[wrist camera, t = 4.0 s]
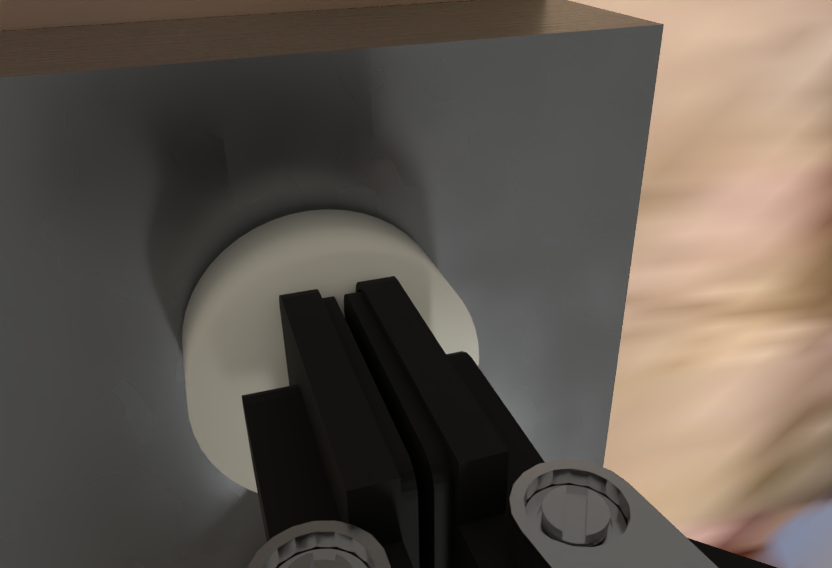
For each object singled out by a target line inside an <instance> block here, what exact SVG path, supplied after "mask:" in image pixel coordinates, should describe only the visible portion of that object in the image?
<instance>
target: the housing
mask: <svg viewBox="0 0 832 568" xmlns="http://www.w3.org/2000/svg"><path fill="white" fill-rule="evenodd" d="M663 25H664V24H660V23H656V22H652V21H648V20H644V19H640V18H636V17H632V16H628V15H624V14H620V13H616V12H612V11H608V10H604V9H600V8H596V7H592V6H588V5H584V4H580V3H576V2H572V1H568V0H473V1H457V2H442V3H426V4H411V5H396V6H380V7H365V8H349V9H334V10H318V11H303V12H288V13H272V14H257V15H241V16H226V17H210V18H195V19H180V20H164V21H149V22H133V23H118V24H102V25H87V26H72V27H56V28H41V29H25V30H10V31H0V568H247V567H248V566H249V564H250V562H251V561H252V559H253V557H254V556H255V554H256V553H257V551H258V550H259V549H260V548H261V547H263V546H264V545H265V544H266V543H267V540H266V535H265V529H264V524H263V519H262V513H261V508H260V503H259V497H258V493H256V492H254V491H251V490H249V489H247V488H245V487H243V486H241V485H239V484H237V483H235V482H234V481H232V480H231V479H230V478H228V477H227V476H226V475H224V474H223V473H222V472H221V471H219V470H218V469H217V468H216V467H215V466H214V465H213V464H212V463H211V462H210V460H209V459H208V458H207V456H206V455H205V453H204V452H203V451H202V449H201V448H200V446H199V444H198V442H197V440H196V438H195V436H194V433H193V430H192V427H191V423H190V420H189V414H188V406H187V396H186V384H185V372H184V360H183V349H182V330H183V322H184V317H185V312H186V309H187V306H188V303H189V300H190V297H191V295H192V293H193V291H194V289H195V287H196V285H197V283H198V281H199V280H200V278H201V277H202V275H203V274H204V273H205V271H206V270H207V268H208V267H209V266H210V264H211V263H212V262H213V261H214V260H215V259H216V258H217V257H218V256H219V255H220V254H221V253H222V252H223V251H224V250H225V249H226V248H227V247H229V246H230V245H231V244H232V243H233V242H235V241H236V240H237V239H238V238H240V237H242V236H243V235H245V234H246V233H248V232H250V231H251V230H253V229H254V228H257V227H259V226H261V225H263V224H265V223H267V222H269V221H271V220H274V219H277V218H280V217H283V216H287V215H290V214H294V213H299V212H304V211H310V210H323V209H333V210H348V211H353V212H359V213H364V214H367V215H370V216H373V217H376V218H379V219H381V220H383V221H385V222H387V223H389V224H392V225H394V226H395V227H397V228H398V229H400V230H401V231H403V232H404V233H406V234H407V235H408V236H409V237H410V238H411V239H412V240H414V241H415V242H416V243H417V244H418V245H419V246H420V248H421V249H422V250H423V251H424V253H425V254H426V255H427V256H428V258H429V259H430V260H431V261H432V263H433V264H434V265H435V267H436V268H437V269H438V270H439V272H440V273H441V274H442V275H443V277H444V278H445V279H446V281H447V282H448V283H449V284H450V286H451V287H452V288H453V290H454V291H455V292H456V293H457V295H458V296H459V297H460V298H461V300H462V301H463V303H464V305H465V306H466V308H467V310H468V312H469V313H470V315H471V318H472V321H473V323H474V326H475V329H476V334H477V339H478V345H479V365H478V367H479V369H480V370H481V371H482V373H483V374H484V376H485V377H486V379H487V380H488V381H489V383H490V384H491V386H492V387H493V389H494V390H495V391H496V393H497V394H498V396H499V397H500V399H501V400H502V401H503V403H504V404H505V406H506V407H507V409H508V410H509V411H510V413H511V414H512V416H513V417H514V419H515V420H516V422H517V423H518V424H519V426H520V427H521V429H522V430H523V432H524V433H525V434H526V436H527V437H528V439H529V440H530V442H531V443H532V444H533V446H534V447H535V449H536V450H537V452H538V453H539V454H540V456H541V457H542V459H543V460H544V462H549V461H553V460H579V461H584V462H589V463H594V464H596V465H599V466H601V467H603V463H604V456H605V448H606V441H607V434H608V427H609V419H610V412H611V405H612V397H613V390H614V383H615V375H616V368H617V361H618V354H619V346H620V339H621V332H622V324H623V317H624V310H625V302H626V295H627V288H628V281H629V273H630V266H631V259H632V251H633V244H634V237H635V229H636V222H637V215H638V207H639V200H640V193H641V186H642V178H643V171H644V164H645V156H646V149H647V142H648V134H649V127H650V120H651V113H652V105H653V98H654V91H655V83H656V76H657V69H658V61H659V54H660V47H661V40H662V32H663Z"/></svg>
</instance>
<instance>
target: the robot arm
mask: <svg viewBox="0 0 832 568" xmlns="http://www.w3.org/2000/svg"><path fill="white" fill-rule="evenodd" d="M279 306H280V314H281V322H282V330H283V338H284V346H285V354H286V362H287V371H288V379H289V386H287V387H282V388H277V389H272V390H267V391H262V392H257V393H252V394H247V395H242V403H243V410H244V416H245V422H246V428H247V434H248V440H249V446H250V452H251V458H252V464H253V470H254V475H255V481H256V486H257V492H258V497H259V503H260V508H261V513H262V519H263V524H264V529H265V535H266V540H267V543H266V544H265V545H264V546H263V547H261V548H260V549H259V550H258V551H257V553H256V554H255V556H254V557H253V559H252V561H251V562H250V564H249V566H248V567H247V568H776V567H773V566H770V565H767V564H764V563H761V562H758V561H755V560H752V559H749V558H746V557H743V556H740V555H737V554H734V553H731V552H728V551H725V550H722V549H719V548H716V547H713V546H710V545H707V544H704V543H701V542H698V541H695V540H692V539H689V538H686V537H685V536H684V535H683V534H682V533H681V532H680V531H679V530H678V529H677V528H676V527H675V526H674V525H673V524H671V523H670V522H669V521H668V520H667V519H666V518H665V517H664V516H663V515H662V514H661V513H660V512H659V511H658V510H657V509H656V508H654V507H653V506H652V505H651V504H650V503H649V502H648V501H647V500H646V499H645V498H644V497H643V496H642V495H641V494H640V493H639V492H637V491H636V490H635V489H634V488H633V487H632V486H631V485H630V484H629V483H628V482H626V481H625V480H624V479H622V478H621V477H619V476H618V475H617V474H615V473H614V472H613V471H610V470H608V469H606V468H603V467H601V466H599V465H596V464H594V463H589V462H584V461H579V460H553V461H549V462H544V460H543V459H542V457H541V456H540V454H539V453H538V452H537V450H536V449H535V447H534V446H533V444H532V443H531V442H530V440H529V439H528V437H527V436H526V434H525V433H524V432H523V430H522V429H521V427H520V426H519V424H518V423H517V422H516V420H515V419H514V417H513V416H512V414H511V413H510V411H509V410H508V409H507V407H506V406H505V404H504V403H503V401H502V400H501V399H500V397H499V396H498V394H497V393H496V391H495V390H494V389H493V387H492V386H491V384H490V383H489V381H488V380H487V379H486V377H485V376H484V374H483V373H482V371H481V370H480V369H479V367H478V366H477V364H476V363H475V361H474V360H473V359H472V357H471V356H470V355H469V354H468V353H467V352H464V351H460V352H455V353H450V354H446V353H445V352H444V350H443V349H442V347H441V346H440V344H439V343H438V341H437V339H436V338H435V336H434V335H433V333H432V332H431V330H430V329H429V327H428V326H427V324H426V322H425V321H424V319H423V318H422V316H421V315H420V313H419V312H418V310H417V309H416V307H415V306H414V304H413V302H412V301H411V299H410V298H409V296H408V295H407V293H406V292H405V290H404V289H403V287H402V286H401V284H400V282H399V281H398V279H397V278H396V277H395V276H391V277H385V278H379V279H373V280H367V281H361V282H357V284H356V292H355V293H349V294H345V295H344V313H345V318H344V316H343V313H342V311H341V309H340V307H339V305H338V303H337V301H336V299H335V297H334V296H332V297H326V298H322V297H321V294H320V292H319V290H318V289H314V290H308V291H302V292H296V293H290V294H284V295H279Z"/></svg>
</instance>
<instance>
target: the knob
mask: <svg viewBox="0 0 832 568" xmlns="http://www.w3.org/2000/svg"><path fill="white" fill-rule="evenodd" d="M391 276H395V277H396V278H397V279H398V281H399V282H400V284H401V286H402V287H403V289H404V290H405V292H406V293H407V295H408V296H409V298H410V299H411V301H412V302H413V304H414V306H415V307H416V309H417V310H418V312H419V313H420V315H421V316H422V318H423V319H424V321H425V322H426V324H427V326H428V327H429V329H430V330H431V332H432V333H433V335H434V336H435V338H436V339H437V341H438V343H439V344H440V346H441V347H442V349H443V350H444V352H445V353H446V354H450V353H455V352H460V351H464V352H467V353H468V354H469V355H470V356H471V357H472V359H473V360H474V361H475V363H476V364H477V366H478V365H479V345H478V339H477V334H476V329H475V326H474V323H473V321H472V318H471V315H470V313H469V312H468V310H467V308H466V306H465V305H464V303H463V301H462V300H461V298H460V297H459V296H458V295H457V293H456V292H455V291H454V290H453V288H452V287H451V286H450V284H449V283H448V282H447V281H446V279H445V278H444V277H443V275H442V274H441V273H440V272H439V270H438V269H437V268H436V267H435V265H434V264H433V263H432V261H431V260H430V259H429V258H428V256H427V255H426V254H425V253H424V251H423V250H422V249H421V248H420V246H419V245H418V244H417V243H416V242H415V241H414V240H412V239H411V238H410V237H409V236H408V235H407V234H406V233H404V232H403V231H401V230H400V229H398V228H397V227H395V226H394V225H392V224H389V223H387V222H385V221H383V220H381V219H379V218H376V217H373V216H370V215H367V214H364V213H359V212H353V211H348V210H333V209H323V210H310V211H304V212H299V213H294V214H290V215H287V216H283V217H280V218H277V219H274V220H271V221H269V222H267V223H265V224H263V225H261V226H259V227H257V228H254V229H253V230H251V231H250V232H248V233H246V234H245V235H243V236H242V237H240V238H238V239H237V240H236V241H235V242H233V243H232V244H231V245H230V246H229V247H227V248H226V249H225V250H224V251H223V252H222V253H221V254H220V255H219V256H218V257H217V258H216V259H215V260H214V261H213V262H212V263H211V264H210V266H209V267H208V268H207V270H206V271H205V273H204V274H203V275H202V277H201V278H200V280H199V281H198V283H197V285H196V287H195V289H194V291H193V293H192V295H191V297H190V300H189V303H188V306H187V309H186V312H185V317H184V322H183V330H182V349H183V360H184V372H185V384H186V396H187V406H188V414H189V420H190V423H191V427H192V430H193V433H194V436H195V438H196V440H197V442H198V444H199V446H200V448H201V449H202V451H203V452H204V453H205V455H206V456H207V458H208V459H209V460H210V462H211V463H212V464H213V465H214V466H215V467H216V468H217V469H218V470H219V471H221V472H222V473H223V474H224V475H226V476H227V477H228V478H230V479H231V480H232V481H234V482H235V483H237V484H239V485H241V486H243V487H245V488H247V489H249V490H251V491H254V492H256V493H258V492H257V486H256V481H255V475H254V470H253V464H252V458H251V452H250V446H249V440H248V434H247V428H246V422H245V416H244V410H243V403H242V395H247V394H252V393H257V392H262V391H267V390H272V389H277V388H282V387H287V386H289V379H288V371H287V362H286V354H285V346H284V338H283V330H282V322H281V314H280V306H279V295H284V294H290V293H296V292H302V291H308V290H314V289H318V290H319V292H320V294H321V297H322V298H326V297H332V296H334V297H335V299H336V301H337V303H338V305H339V307H340V309H341V311H342V313H343V316H344V318H345V313H344V295H345V294H349V293H355V292H356V284H357V282H361V281H367V280H373V279H379V278H385V277H391Z"/></svg>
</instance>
